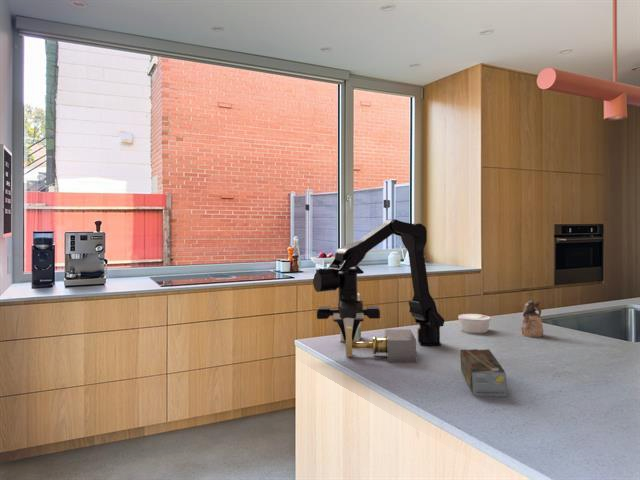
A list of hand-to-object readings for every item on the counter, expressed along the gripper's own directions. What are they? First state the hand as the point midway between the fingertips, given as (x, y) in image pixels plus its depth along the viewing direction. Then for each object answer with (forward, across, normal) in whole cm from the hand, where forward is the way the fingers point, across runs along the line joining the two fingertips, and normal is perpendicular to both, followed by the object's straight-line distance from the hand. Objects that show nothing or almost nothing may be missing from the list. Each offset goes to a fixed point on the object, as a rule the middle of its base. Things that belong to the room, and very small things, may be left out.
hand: (348, 340), depth 144 cm
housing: (+5, +15, 0) cm, 16 cm away
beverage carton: (+5, +33, -24) cm, 41 cm away
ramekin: (+5, +45, +34) cm, 57 cm away
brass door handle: (+4, +6, 0) cm, 8 cm away
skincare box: (+5, 0, +21) cm, 22 cm away
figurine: (+5, +63, +27) cm, 69 cm away
